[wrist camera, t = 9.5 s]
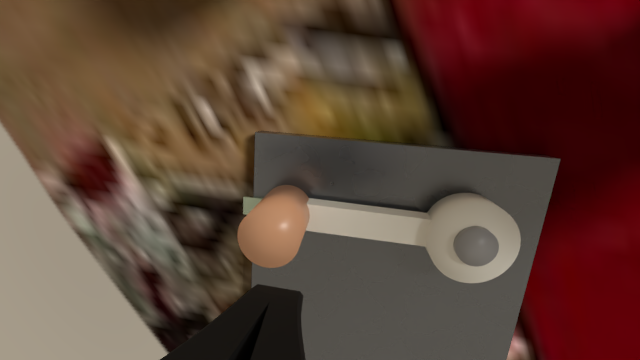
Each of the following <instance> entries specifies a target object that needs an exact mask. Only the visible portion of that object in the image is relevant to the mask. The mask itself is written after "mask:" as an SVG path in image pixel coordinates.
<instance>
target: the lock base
mask: <svg viewBox="0 0 640 360" xmlns="http://www.w3.org/2000/svg"><path fill="white" fill-rule="evenodd" d="M560 160H561V159H559V158H555V157H551V156H547V155H535V154H523V153H512V152H500V151H489V150H477V149H466V148H454V147H442V146H431V145H419V144H408V143H396V142H385V141H373V140H361V139H350V138H338V137H327V136H315V135H304V134H292V133H280V132H269V131H258V132H255V158H254V197H251V196H244V197H243V214H246V215H247V214H248V213H249V212H250V211H251V210H252V209H253V208H254V207H255V206H256V205H257V204H258V203H259V202H260V201H261V200H262V199H263V198H264V197H265V196H266V195H267V194H268V193H269V192H270V191H271V190H272V189H273V188H275V187H277V186H280V185H292V186H295V187H298V188H299V189H301V190H302V191H304V192H305V193H306V195H307V196H308V197H309V198H313V199H321V200H329V201H337V202H345V203H353V204H361V205H369V206H377V207H385V208H393V209H400V210H408V211H416V212H424V213H427V212H428V211H429V209H430V208H431V207H432V206H433V205H434V204H435V203H436V202H438V201H439V200H441V199H442V198H444V197H446V196H449V195H452V194H456V193H474V194H478V195H481V196H483V197H485V198H487V199H488V200H490V201H491V202H493V203H494V204H496V205H497V206H499V207H500V208H502V209H503V210H505V211H506V212H507V213H508V214H509V215H510V216H511V217H512V218H513V219H514V220H515V222H516V224H517V226H518V228H519V231H520V237H521V244H520V250H519V253H518V255H517V257H516V259H515V261H514V262H513V264H512V265H511V266H510V267H509V268H508V269H507V270H506V271H505V272H504V273H502V274H501V275H499V276H498V277H496V278H494V279H491V280H489V281H485V282H481V283H463V282H458V281H455V280H453V279H451V278H448V277H447V276H445V275H444V274H443V273H441V272H440V271H439V270H438V269H437V267H436V266H435V265H434V263H433V261H432V259H431V257H430V255H429V253H428V251H427V250H426V248H425V247H424V246H417V245H410V244H402V243H395V242H387V241H380V240H372V239H365V238H357V237H350V236H342V235H335V234H327V233H320V232H312V231H305V234H304V236H303V239H302V242H301V244H300V247H299V250H298V252H297V254H296V256H295V257H294V258H293V259H292V260H291V261H290V262H289V263H287V264H286V265H283V266H281V267H276V268H266V267H262V266H259V265H257V264H255V263H253V262H252V287H251V288H253V287H254V286H255V285H257V284H261V285H266V286H272V287H278V288H284V289H290V290H296V291H300V292H301V293H302V294H303V304H302V312H301V326H302V337H303V344H304V352H305V359H306V360H506V359H507V355H508V352H509V348H510V344H511V341H512V337H513V333H514V330H515V326H516V322H517V318H518V315H519V311H520V307H521V304H522V300H523V296H524V293H525V289H526V285H527V282H528V278H529V274H530V271H531V267H532V263H533V259H534V256H535V252H536V248H537V245H538V241H539V237H540V234H541V230H542V226H543V223H544V219H545V215H546V211H547V208H548V204H549V200H550V197H551V193H552V189H553V186H554V182H555V178H556V175H557V171H558V167H559V163H560Z"/></svg>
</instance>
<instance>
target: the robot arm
mask: <svg viewBox="0 0 640 360" xmlns="http://www.w3.org/2000/svg"><path fill="white" fill-rule="evenodd" d="M302 304H303V294H302V293H301V292H300V291H296V290H290V289H284V288H278V287H272V286H266V285H261V284H257V285H255V286H254V287H253V288H251V289H250V290H249V291H248V292H247V293H246V294H244V295H243V296H242V297H241V298H240V299H239V300H237V301H236V302H235V303H234V304H233V305H232V306H230V307H229V308H228V309H227V310H226V311H224V312H223V313H222V314H221V315H219V316H218V317H217V318H216V319H214V320H213V321H212V322H211V323H209V324H208V325H207V326H206V327H204V328H203V329H202V330H200V331H199V332H198V333H197V334H195V335H194V336H192V337H191V338H190V339H188V340H187V341H186V342H184V343H183V344H181V345H180V346H179V347H177V348H176V349H174V350H173V351H172V352H170V353H169V354H167V355H166V356H165V357H163V358H162V359H160V360H306V359H305V352H304V344H303V337H302V326H301V312H302Z"/></svg>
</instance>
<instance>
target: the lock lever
mask: <svg viewBox="0 0 640 360" xmlns="http://www.w3.org/2000/svg"><path fill="white" fill-rule="evenodd" d="M305 231H312V232H320V233H327V234H335V235H342V236H350V237H357V238H365V239H372V240H380V241H387V242H395V243H402V244H410V245H417V246H424V247H425V248H426V250H427V251H428V253H429V255H430V257H431V259H432V261H433V263H434V265H435V266H436V267H437V269H438V270H439V271H440V272H441V273H443V274H444V275H445V276H447V277H448V278H451V279H453V280H455V281H458V282H463V283H481V282H485V281H489V280H491V279H494V278H496V277H498V276H499V275H501V274H502V273H504V272H505V271H506V270H507V269H508V268H509V267H510V266H511V265H512V264H513V262H514V261H515V259H516V257H517V255H518V253H519V250H520V244H521V237H520V231H519V228H518V226H517V224H516V222H515V220H514V219H513V218H512V217H511V216H510V215H509V214H508V213H507V212H506V211H505V210H503V209H502V208H500V207H499V206H497V205H496V204H494V203H493V202H491V201H490V200H488V199H487V198H485V197H483V196H481V195H478V194H474V193H456V194H452V195H449V196H446V197H444V198H442V199H441V200H439V201H438V202H436V203H435V204H434V205H433V206H432V207H431V208H430V209H429V211H428V212H427V213H424V212H416V211H408V210H400V209H393V208H385V207H377V206H369V205H361V204H353V203H345V202H337V201H329V200H321V199H313V198H309V197H308V196H307V195H306V193H305V192H304V191H302V190H301V189H299V188H298V187H295V186H292V185H280V186H277V187H275V188H273V189H272V190H271V191H270V192H269V193H268V194H267V195H266V196H265V197H264V198H263V199H262V200H261V201H260V202H259V203H258V204H257V205H256V206H255V207H254V208H253V209H252V210H251V211H250V212H249V213H248V214H247V215H246V217H245V218H244V219H243V220H242V222H241V223H240V225H239V228H238V234H237V239H238V244H239V247H240V249H241V251H242V252H243V254H244V255H245V256H246V257H247V258H248V259H249V260H250V261H251V262H253V263H255V264H257V265H259V266H262V267H266V268H276V267H281V266H283V265H286V264H287V263H289V262H290V261H291V260H292V259H293V258H294V257H295V256H296V254H297V252H298V250H299V247H300V244H301V242H302V239H303V236H304V234H305Z"/></svg>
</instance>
